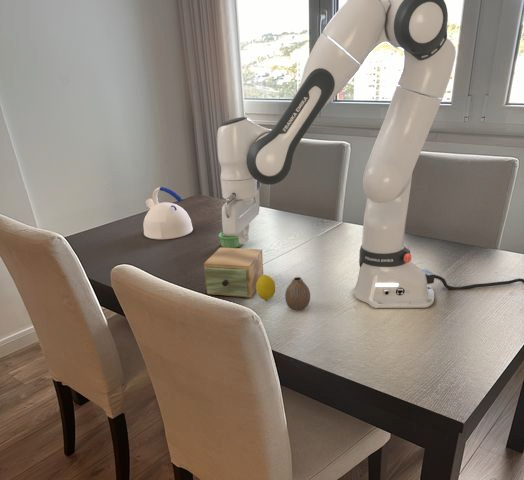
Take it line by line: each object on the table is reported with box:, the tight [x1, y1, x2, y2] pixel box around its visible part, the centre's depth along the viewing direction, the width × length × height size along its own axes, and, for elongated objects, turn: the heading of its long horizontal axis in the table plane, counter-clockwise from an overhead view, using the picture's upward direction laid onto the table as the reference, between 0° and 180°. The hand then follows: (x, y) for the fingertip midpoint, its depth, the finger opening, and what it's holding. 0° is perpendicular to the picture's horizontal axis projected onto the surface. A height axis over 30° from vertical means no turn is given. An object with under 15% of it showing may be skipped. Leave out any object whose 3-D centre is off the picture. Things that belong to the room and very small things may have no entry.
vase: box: [284, 276, 311, 312], centre depth 134 cm, size 7×7×9 cm
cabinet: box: [203, 246, 264, 298], centre depth 149 cm, size 14×14×10 cm
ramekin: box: [218, 231, 243, 248], centre depth 183 cm, size 9×9×4 cm
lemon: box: [255, 274, 276, 302], centre depth 140 cm, size 6×6×8 cm
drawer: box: [204, 267, 249, 297], centre depth 147 cm, size 14×13×8 cm
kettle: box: [142, 186, 194, 241], centre depth 198 cm, size 20×21×18 cm
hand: (243, 242), depth 130 cm, fingers closed
